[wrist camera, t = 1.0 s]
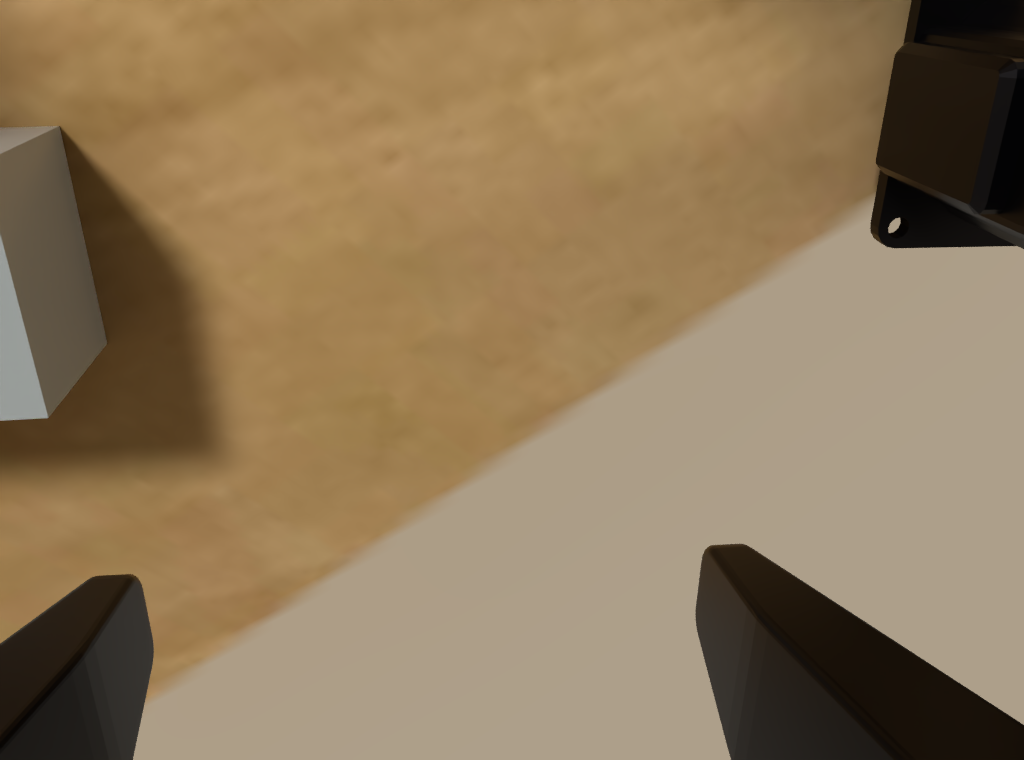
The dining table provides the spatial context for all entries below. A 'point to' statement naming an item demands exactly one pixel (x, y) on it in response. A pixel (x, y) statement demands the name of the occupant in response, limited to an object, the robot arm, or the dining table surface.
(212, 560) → the dining table surface
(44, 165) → the light grey block
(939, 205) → the robot arm
